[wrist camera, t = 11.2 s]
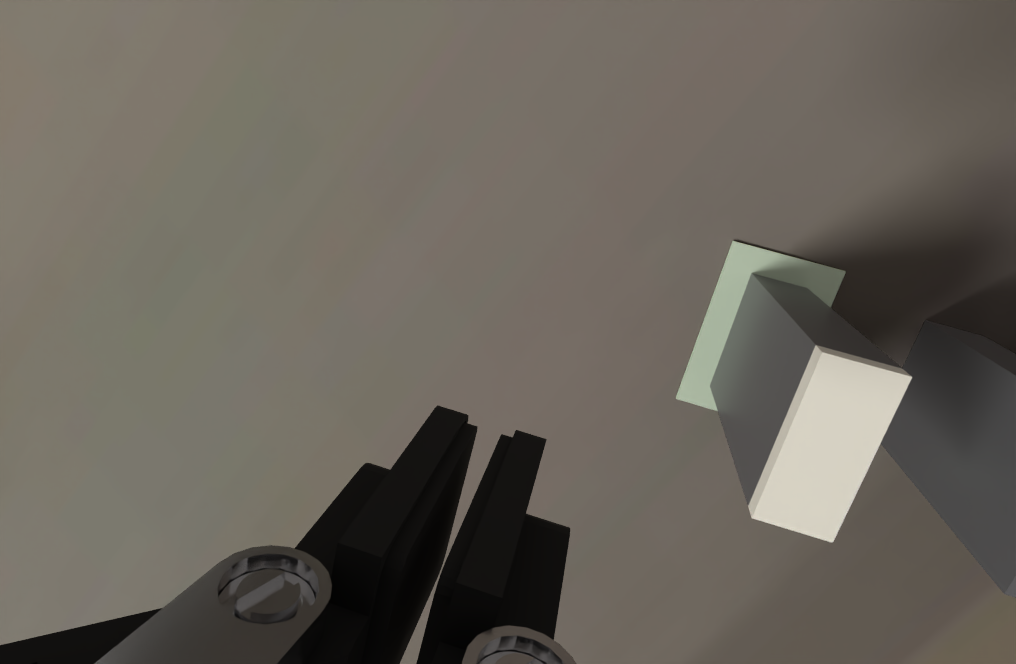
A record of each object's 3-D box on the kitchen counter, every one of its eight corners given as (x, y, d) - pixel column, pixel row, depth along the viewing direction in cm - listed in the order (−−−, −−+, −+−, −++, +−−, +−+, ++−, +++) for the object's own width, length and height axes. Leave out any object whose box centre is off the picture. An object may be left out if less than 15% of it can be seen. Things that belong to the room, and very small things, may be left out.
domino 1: (761, 400, 27) (832, 542, 17) (709, 385, 27) (751, 518, 18) (807, 287, 25) (912, 376, 16) (751, 273, 25) (822, 352, 16)
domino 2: (925, 447, 26) (1090, 621, 17) (871, 432, 26) (1004, 594, 17) (983, 336, 25) (1202, 458, 15) (925, 320, 25) (1105, 430, 15)
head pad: (777, 428, 27) (778, 429, 27) (675, 397, 28) (675, 398, 27) (845, 271, 25) (845, 271, 25) (732, 240, 25) (733, 240, 25)
